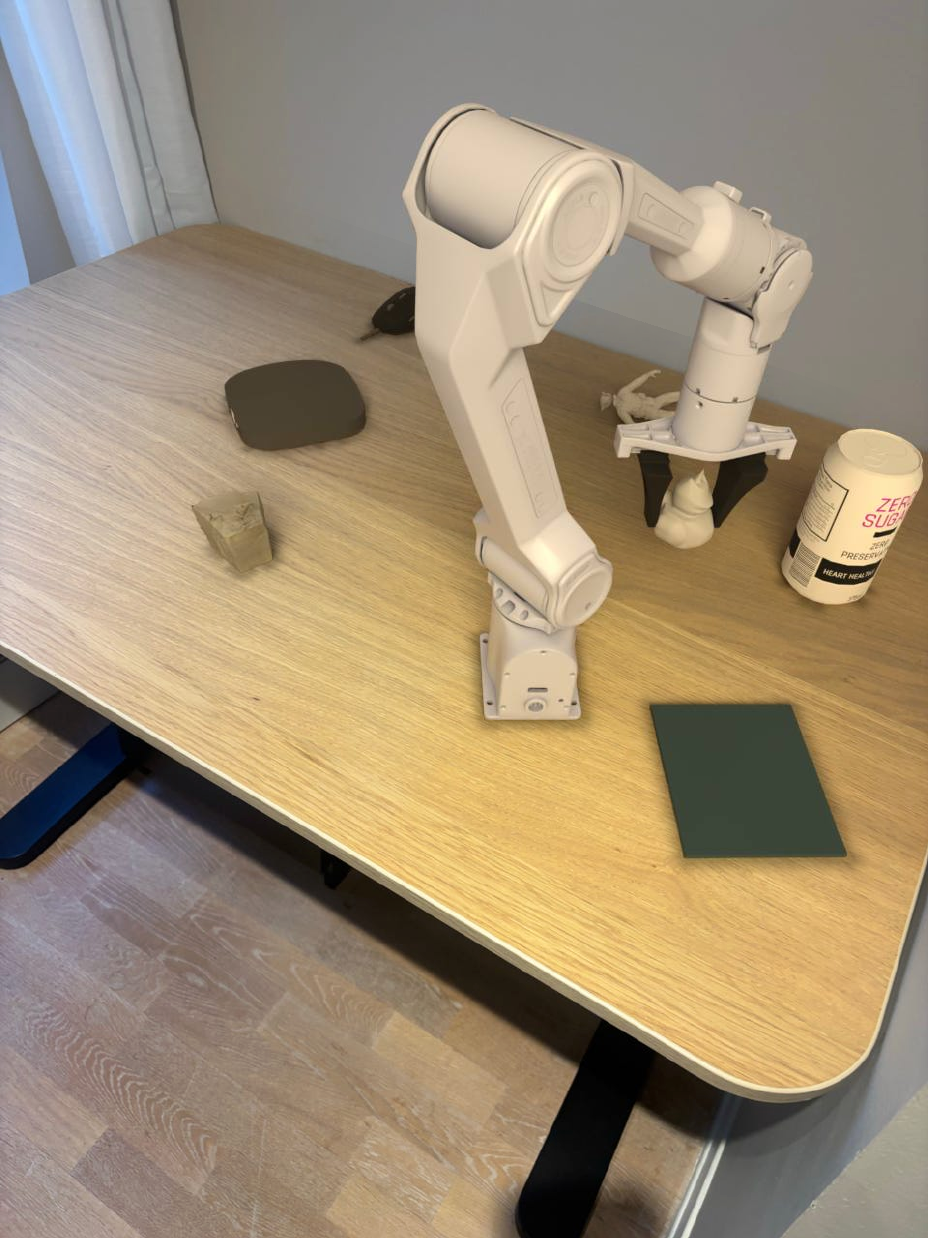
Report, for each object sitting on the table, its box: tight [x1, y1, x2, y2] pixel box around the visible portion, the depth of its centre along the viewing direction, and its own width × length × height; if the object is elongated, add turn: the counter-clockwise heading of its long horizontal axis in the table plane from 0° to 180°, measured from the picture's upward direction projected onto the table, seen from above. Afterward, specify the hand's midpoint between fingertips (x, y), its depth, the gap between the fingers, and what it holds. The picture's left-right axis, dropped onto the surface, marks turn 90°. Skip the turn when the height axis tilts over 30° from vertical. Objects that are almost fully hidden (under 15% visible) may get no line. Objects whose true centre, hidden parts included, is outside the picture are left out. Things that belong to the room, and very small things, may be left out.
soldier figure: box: [599, 369, 681, 425], centre depth 103 cm, size 8×5×12 cm
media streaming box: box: [223, 359, 366, 451], centre depth 101 cm, size 15×15×3 cm
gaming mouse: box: [360, 285, 416, 341], centre depth 118 cm, size 6×15×4 cm, turn 136°
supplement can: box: [780, 428, 924, 605], centre depth 80 cm, size 8×8×15 cm
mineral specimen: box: [191, 489, 273, 574], centre depth 81 cm, size 7×9×8 cm
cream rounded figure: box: [653, 468, 715, 550], centre depth 76 cm, size 5×7×8 cm
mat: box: [649, 704, 848, 859], centre depth 68 cm, size 14×12×1 cm
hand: (682, 520), depth 78 cm, fingers closed on cream rounded figure, 5 cm apart
